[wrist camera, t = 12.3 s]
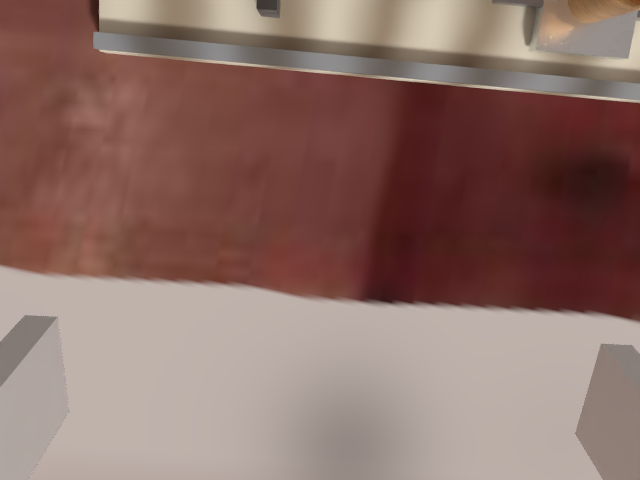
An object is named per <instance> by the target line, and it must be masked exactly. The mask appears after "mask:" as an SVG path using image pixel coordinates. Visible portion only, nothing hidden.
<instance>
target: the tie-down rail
mask: <svg viewBox="0 0 640 480" xmlns="http://www.w3.org/2000/svg"><path fill="white" fill-rule="evenodd" d="M535 11H536V8H533V7H523V6H513V5H503V4H493V3H492V0H99V32H94V48H95V49H99V51H101V52H105V53H112V54H123V55H134V56H144V57H155V58H166V59H176V60H187V61H198V62H208V63H219V64H230V65H240V66H251V67H262V68H272V69H283V70H294V71H304V72H315V73H325V74H336V75H347V76H357V77H368V78H379V79H389V80H400V81H411V82H421V83H432V84H443V85H453V86H464V87H475V88H485V89H496V90H507V91H517V92H528V93H538V94H549V95H560V96H570V97H581V98H592V99H602V100H613V101H624V102H634V103H640V21H636V24H635V28H634V33H633V38H632V43H631V48H630V53H629V58H628V59H622V60H614V59H604V58H593V57H583V56H572V55H562V54H552V53H541V52H531V51H529V47H530V41H531V35H532V29H533V23H534V17H535Z"/></svg>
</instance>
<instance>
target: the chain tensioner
mask: <svg viewBox="0 0 640 480" xmlns="http://www.w3.org/2000/svg"><path fill="white" fill-rule="evenodd" d="M492 3H493V4H503V5H513V6H523V7H533V8H536V11H535V17H534V23H533V29H532V35H531V41H530V47H529V51H531V52H541V53H552V54H562V55H572V56H583V57H593V58H604V59H614V60H622V59H628V58H629V53H630V48H631V43H632V38H633V33H634V28H635V24H636V21H640V0H492Z"/></svg>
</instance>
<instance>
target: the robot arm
mask: <svg viewBox="0 0 640 480" xmlns="http://www.w3.org/2000/svg"><path fill="white" fill-rule="evenodd" d="M68 413H69V404H68V396H67V388H66V380H65V372H64V364H63V356H62V348H61V340H60V332H59V324H58V317H48V316H28V315H25V316H24V317H23V318H22V319H21V320H20V321H19V322H18V323H17V325H15V327H14V328H13V329H12V330H11V331H10V332H9V333H8V334H7V335H6V336H5V337H4V338H3V340H2V341H1V342H0V480H29V478H30V476H31V475H32V473H33V471H34V470H35V468H36V466H37V465H38V463H39V461H40V460H41V458H42V456H43V454H44V453H45V451H46V450H47V448H48V446H49V445H50V443H51V441H52V439H53V438H54V436H55V435H56V433H57V431H58V429H59V428H60V426H61V425H62V423H63V421H64V419H65V418H66V416H67V414H68ZM575 434H576V436H577V437H578V439H579V441H580V442H581V444H582V446H583V447H584V449H585V450H586V452H587V454H588V456H589V457H590V459H591V460H592V462H593V464H594V465H595V467H596V469H597V470H598V472H599V474H600V475H601V477H602V479H603V480H640V354H639V353H638V351H637V350H636V349H635V348H634V347H633V346H632V345H614V344H601V346H600V350H599V353H598V357H597V360H596V364H595V367H594V371H593V374H592V377H591V381H590V384H589V388H588V391H587V395H586V398H585V402H584V405H583V408H582V412H581V415H580V419H579V422H578V426H577V430H576V433H575Z"/></svg>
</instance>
